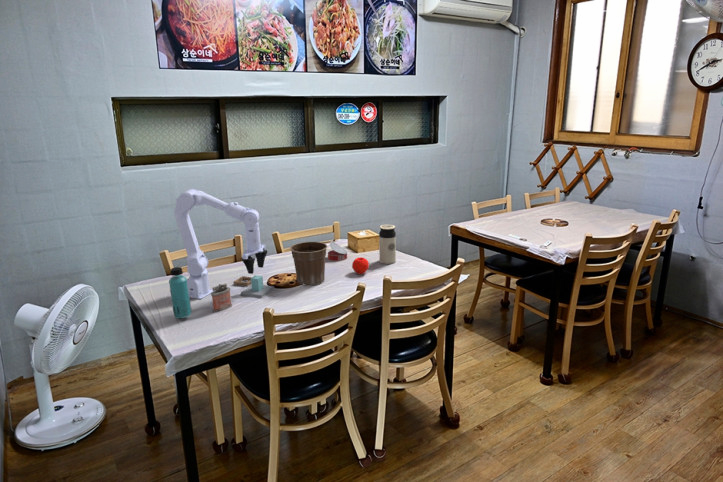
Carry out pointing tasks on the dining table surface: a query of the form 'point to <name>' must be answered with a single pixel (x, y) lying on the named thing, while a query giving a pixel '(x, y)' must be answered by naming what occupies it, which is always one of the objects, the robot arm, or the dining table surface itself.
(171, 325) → the dining table surface
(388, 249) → the travel mug
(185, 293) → the beverage bottle
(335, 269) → the dining table surface
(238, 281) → the collar
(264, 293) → the mat
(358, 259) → the apple
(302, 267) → the plant pot
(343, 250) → the canned food
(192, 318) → the dining table surface
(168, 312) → the dining table surface
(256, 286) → the peg
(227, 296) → the crushed red tin
